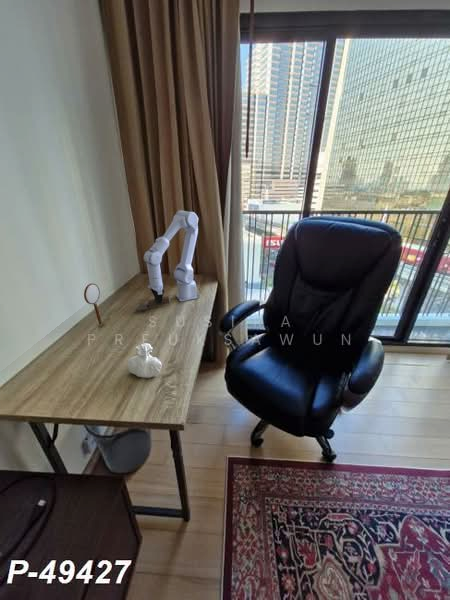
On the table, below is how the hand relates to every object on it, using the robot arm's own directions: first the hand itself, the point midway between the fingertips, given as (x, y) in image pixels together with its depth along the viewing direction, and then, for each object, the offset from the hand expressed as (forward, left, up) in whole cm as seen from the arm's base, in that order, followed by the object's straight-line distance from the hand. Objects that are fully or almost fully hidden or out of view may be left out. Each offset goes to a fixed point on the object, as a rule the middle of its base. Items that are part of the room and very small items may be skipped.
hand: (158, 302), depth 124 cm
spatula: (+3, 0, -1) cm, 3 cm away
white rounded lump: (+14, +43, -3) cm, 45 cm away
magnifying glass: (+27, +5, -3) cm, 28 cm away
